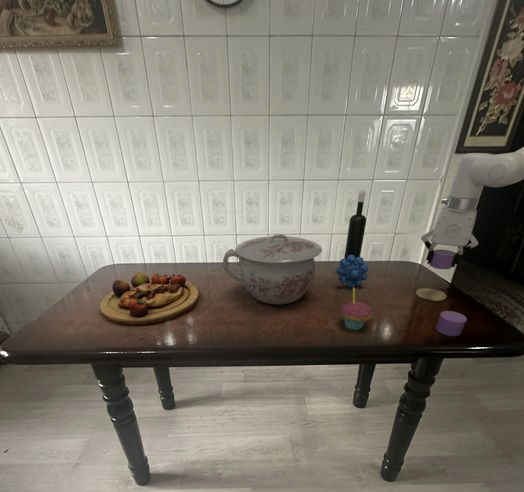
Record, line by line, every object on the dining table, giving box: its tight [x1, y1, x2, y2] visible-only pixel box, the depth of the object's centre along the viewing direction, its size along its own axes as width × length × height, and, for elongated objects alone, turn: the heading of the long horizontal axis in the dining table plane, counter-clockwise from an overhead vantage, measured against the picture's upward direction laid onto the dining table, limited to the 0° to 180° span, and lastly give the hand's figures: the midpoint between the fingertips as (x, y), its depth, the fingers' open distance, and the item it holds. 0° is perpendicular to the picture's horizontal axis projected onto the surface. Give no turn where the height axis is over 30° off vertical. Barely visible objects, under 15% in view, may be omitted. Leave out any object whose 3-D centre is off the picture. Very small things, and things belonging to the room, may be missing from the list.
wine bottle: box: [343, 189, 367, 260], centre depth 111 cm, size 6×6×30 cm
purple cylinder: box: [428, 248, 457, 270], centre depth 96 cm, size 6×6×4 cm
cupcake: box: [340, 285, 373, 331], centre depth 84 cm, size 9×8×12 cm
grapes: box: [335, 255, 369, 289], centre depth 105 cm, size 12×7×12 cm, turn 93°
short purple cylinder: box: [435, 310, 468, 337], centre depth 83 cm, size 6×6×4 cm
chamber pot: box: [222, 233, 323, 305], centre depth 98 cm, size 28×28×21 cm
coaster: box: [415, 287, 448, 302], centre depth 103 cm, size 10×10×1 cm
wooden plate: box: [98, 271, 201, 325], centre depth 99 cm, size 32×32×8 cm
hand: (440, 263), depth 97 cm, fingers closed on purple cylinder, 6 cm apart
